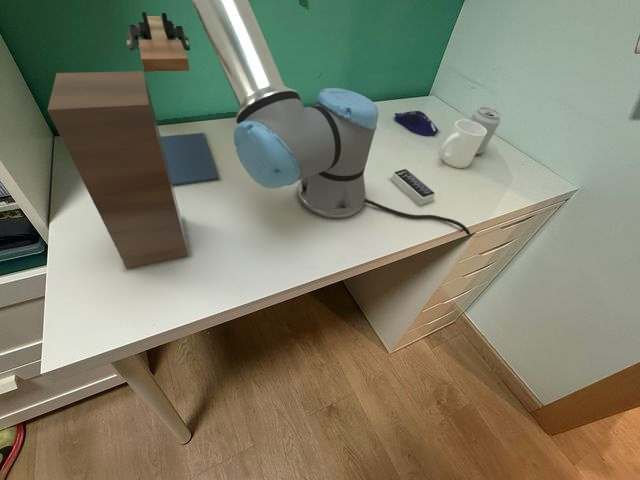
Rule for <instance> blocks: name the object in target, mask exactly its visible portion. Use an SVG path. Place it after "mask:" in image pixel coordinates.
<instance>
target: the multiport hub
mask: <svg viewBox="0 0 640 480" xmlns="http://www.w3.org/2000/svg"><path fill="white" fill-rule="evenodd" d="M390 181H391V182H392V183H394V184H395V185H396V186H397V187H398V188H399V190H401V191H402V192H404V193H405V194H406V195H407V196H408V197H409V198H411V200H413V202H415V204H417V206H423V205H425V204H428V203H431V202H432V201H433V199H434V197H435V195H436V193H435V192H434V190H432V189H431V188H430V187H429V186H427V185H426V184H425V183H424V182H422V181H421V180H420V179H419V178H418V177H417V176H415V174H413V173H412V172H410V171H409V170H408V169H407V168H403V169H399V170H396V171H393V173H392V176H391V179H390Z"/></svg>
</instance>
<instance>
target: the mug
mask: <svg viewBox="0 0 640 480" xmlns="http://www.w3.org/2000/svg"><path fill="white" fill-rule="evenodd" d="M486 133H487V130H486V129H485V128H484V127H483V126H482V125H480V124H478V123H476V122H473V121H470V120H469V119H459V120H456V122H455V123H454V125H453V128H452V129H451V132H450V134H449V136H448V137H447V138H445V140H444V142H443V143H442V145H441V147H440V150H439V157H440V158H441V160H442V161H443V162H444V163H445V164H446V165H448V166H450V167H452V168H456V169H465V168H467V167H469V166H470V165H471V163H472V161H473V159H474V157H475V156H476V155H475V154H476V152H477V150H478V148H479V146H480V144H481V143H482V141H483V139H484V137H485V135H486Z"/></svg>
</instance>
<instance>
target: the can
mask: <svg viewBox="0 0 640 480" xmlns="http://www.w3.org/2000/svg"><path fill="white" fill-rule="evenodd" d="M501 116H502V115H501V112H500V111H498V110H496V109H495V108H492V107H489V106H480V107H478V108H477V110H475V111H474V112H473V113H472V115H471V117H470V121H473V122H476V123H478V124H480V125H482V126H483V127H484V128H485V129H486V130H487V133H486V135H485V137H484V139H483V141H482V143H481V144H480V146H479V148H478V150H477V152H476V154H475V156H477V155H480V154H483V153H484V152H485V150H486V148H487V147H488V145H489V143H490V141H491V139H492V138H493V135H494V134H495V132H496V130H497V129H498V127H499V125H500V123H501Z"/></svg>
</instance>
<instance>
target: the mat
mask: <svg viewBox="0 0 640 480" xmlns="http://www.w3.org/2000/svg"><path fill="white" fill-rule="evenodd" d="M160 136H161V140H162V144H163V148H164V152H165V156H166V160H167V164H168V168H169V172H170V176H171V180H172V184H173V187H174V186H179V185H188V184H193V183H202V182H211V181H217V180H219V177H218V173H217V171H216V167H215V165H214V161H213V159H212V156H211V152H210V150H209V146H208V143H207V141H206V137H205V134H204V132H198V133H186V134H175V135H174V134H173V135H164V136H162V135H160Z"/></svg>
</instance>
